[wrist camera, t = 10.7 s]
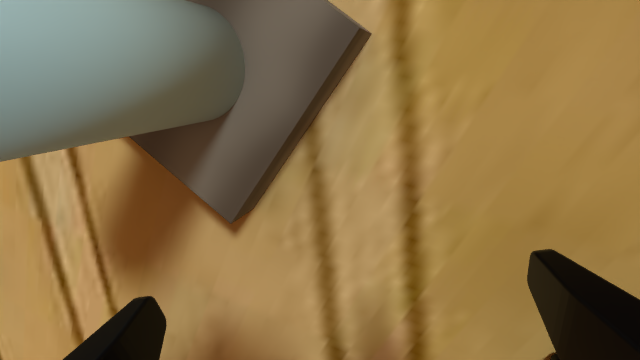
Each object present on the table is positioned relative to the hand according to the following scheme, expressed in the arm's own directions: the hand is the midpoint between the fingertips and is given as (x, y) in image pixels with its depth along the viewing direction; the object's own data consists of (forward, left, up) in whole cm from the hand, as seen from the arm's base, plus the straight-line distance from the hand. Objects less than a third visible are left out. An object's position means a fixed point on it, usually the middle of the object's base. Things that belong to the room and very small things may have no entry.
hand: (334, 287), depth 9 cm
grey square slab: (+9, +7, -11) cm, 16 cm away
